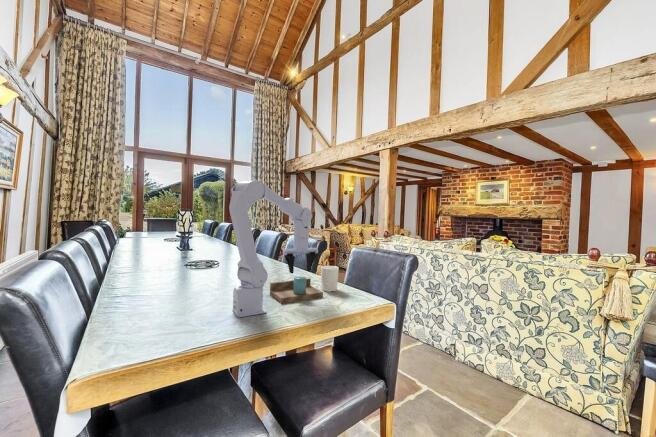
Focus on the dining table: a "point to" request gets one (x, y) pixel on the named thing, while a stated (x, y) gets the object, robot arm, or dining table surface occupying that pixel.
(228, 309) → the dining table surface
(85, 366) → the dining table surface
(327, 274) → the white cup
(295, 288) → the teal round canister
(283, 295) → the walnut shelf
